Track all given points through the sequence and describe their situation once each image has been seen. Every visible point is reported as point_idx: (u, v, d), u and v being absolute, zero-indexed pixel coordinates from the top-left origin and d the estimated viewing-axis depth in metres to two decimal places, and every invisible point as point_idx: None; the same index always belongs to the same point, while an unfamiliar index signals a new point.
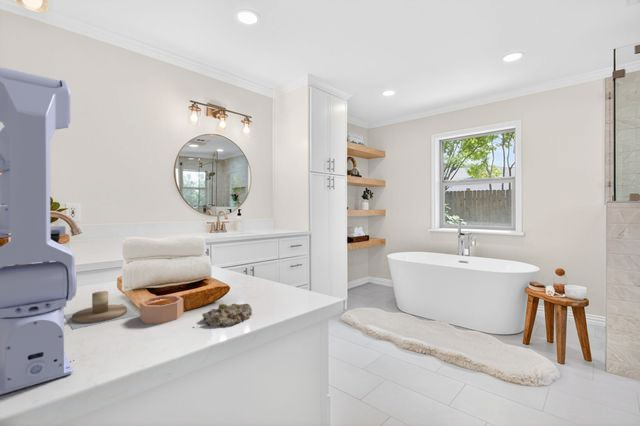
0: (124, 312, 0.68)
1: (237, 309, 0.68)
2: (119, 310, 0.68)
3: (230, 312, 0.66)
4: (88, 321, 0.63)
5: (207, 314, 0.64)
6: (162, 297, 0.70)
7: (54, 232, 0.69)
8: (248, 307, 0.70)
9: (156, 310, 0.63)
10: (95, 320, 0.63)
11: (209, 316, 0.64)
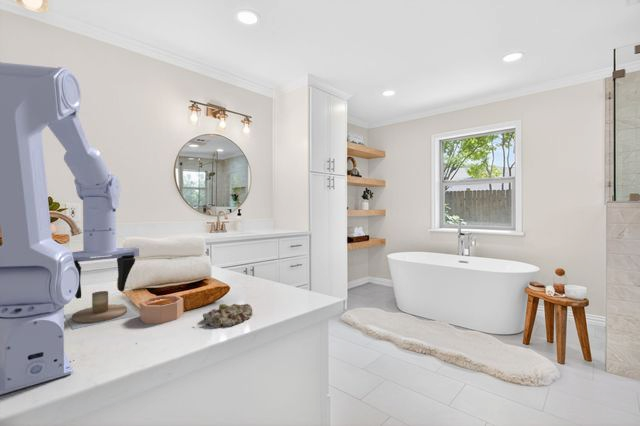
0: (124, 312, 0.68)
1: (237, 309, 0.67)
2: (119, 310, 0.68)
3: (230, 312, 0.66)
4: (88, 321, 0.63)
5: (207, 314, 0.64)
6: (162, 297, 0.70)
7: (129, 254, 0.71)
8: (249, 307, 0.69)
9: (156, 310, 0.63)
10: (95, 320, 0.63)
11: (210, 316, 0.64)
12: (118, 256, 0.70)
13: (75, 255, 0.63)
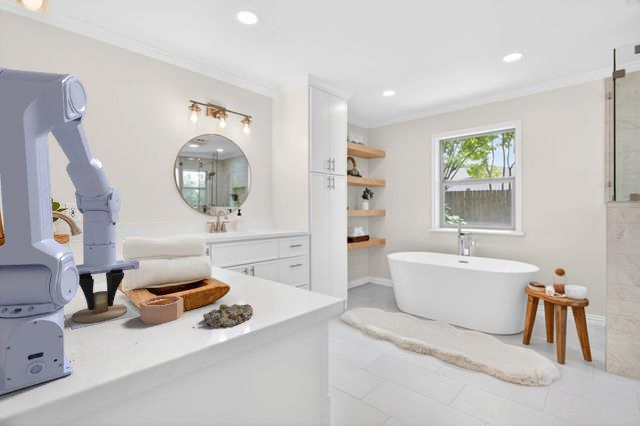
0: (124, 312, 0.68)
1: (238, 310, 0.67)
2: (119, 310, 0.68)
3: (230, 313, 0.66)
4: (88, 321, 0.63)
5: (207, 314, 0.64)
6: (162, 297, 0.70)
7: (129, 267, 0.71)
8: (249, 308, 0.69)
9: (156, 310, 0.63)
10: (95, 320, 0.63)
11: (210, 317, 0.63)
12: (118, 269, 0.70)
13: None
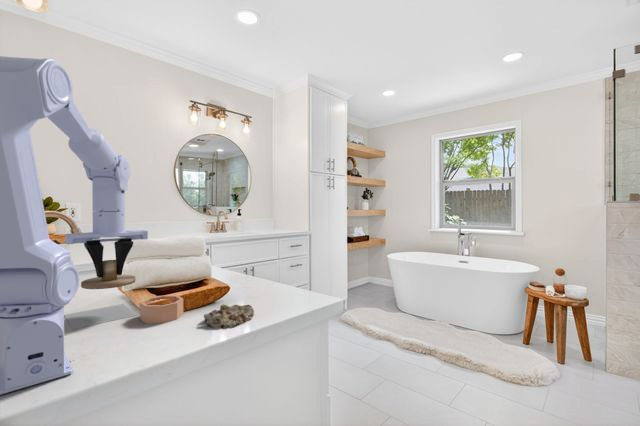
0: (133, 280, 0.68)
1: (239, 310, 0.67)
2: (128, 278, 0.68)
3: (231, 313, 0.65)
4: (98, 287, 0.63)
5: (208, 315, 0.64)
6: (162, 297, 0.70)
7: (138, 236, 0.71)
8: (250, 308, 0.69)
9: (156, 310, 0.63)
10: (105, 286, 0.63)
11: (211, 317, 0.63)
12: (127, 238, 0.69)
13: (85, 235, 0.63)
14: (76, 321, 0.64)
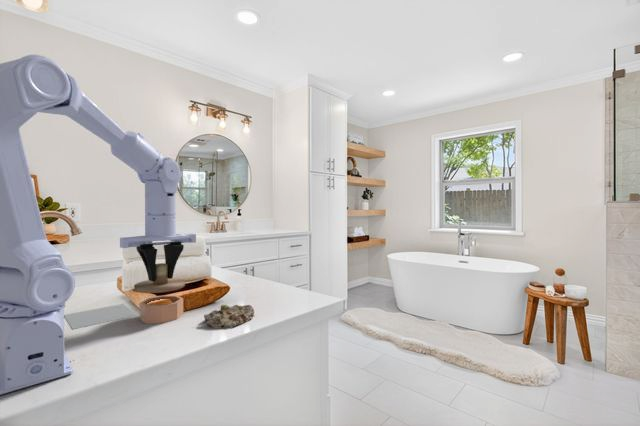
0: (184, 284, 0.68)
1: (239, 310, 0.67)
2: (179, 282, 0.68)
3: (231, 314, 0.65)
4: (153, 291, 0.62)
5: (208, 315, 0.64)
6: (162, 297, 0.70)
7: (186, 240, 0.71)
8: (250, 308, 0.69)
9: (156, 310, 0.63)
10: (160, 290, 0.63)
11: (211, 317, 0.63)
12: (177, 242, 0.69)
13: (139, 239, 0.62)
14: (76, 321, 0.64)
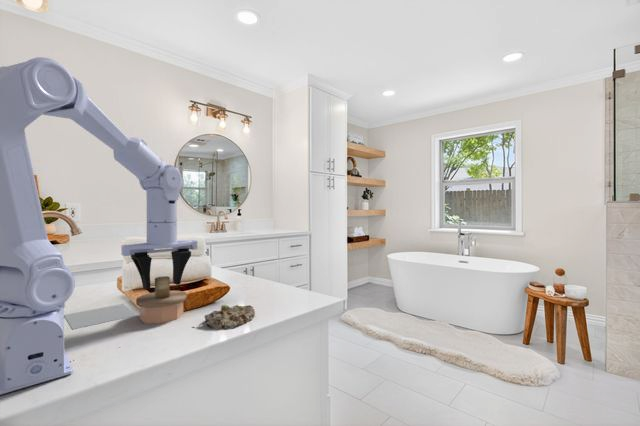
0: (186, 297, 0.68)
1: (240, 311, 0.67)
2: (180, 295, 0.68)
3: (232, 314, 0.65)
4: (155, 305, 0.62)
5: (209, 315, 0.63)
6: None
7: (188, 247, 0.71)
8: (251, 309, 0.68)
9: (156, 310, 0.63)
10: (162, 304, 0.63)
11: (211, 318, 0.63)
12: (178, 249, 0.69)
13: (141, 247, 0.63)
14: (76, 321, 0.64)
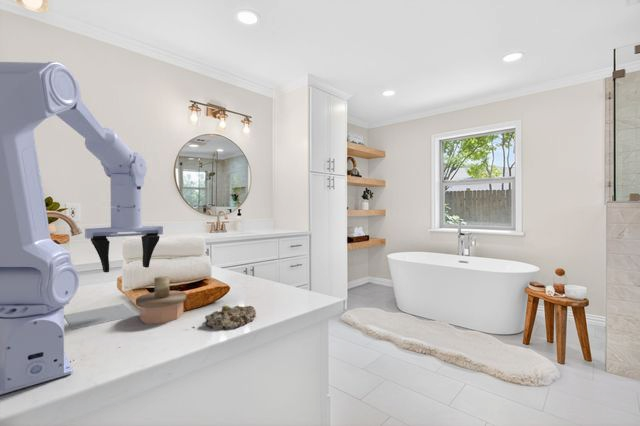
0: (185, 297, 0.68)
1: (240, 311, 0.66)
2: (180, 295, 0.68)
3: (233, 315, 0.65)
4: (155, 305, 0.62)
5: (209, 316, 0.63)
6: None
7: (153, 232, 0.73)
8: (252, 309, 0.68)
9: (156, 310, 0.63)
10: (162, 304, 0.63)
11: (212, 318, 0.62)
12: (143, 233, 0.71)
13: (104, 230, 0.65)
14: (76, 321, 0.64)
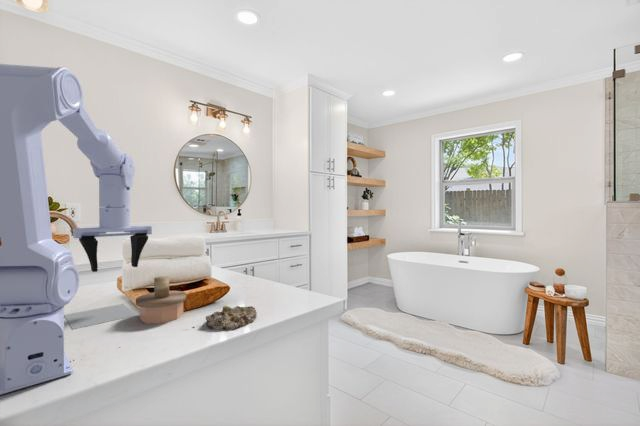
0: (185, 297, 0.68)
1: (241, 312, 0.66)
2: (180, 295, 0.68)
3: (233, 315, 0.64)
4: (155, 305, 0.62)
5: (210, 316, 0.63)
6: None
7: (142, 232, 0.74)
8: (253, 310, 0.68)
9: (156, 310, 0.63)
10: (161, 304, 0.63)
11: (212, 319, 0.62)
12: (132, 233, 0.72)
13: (92, 230, 0.66)
14: (76, 321, 0.64)
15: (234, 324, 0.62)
